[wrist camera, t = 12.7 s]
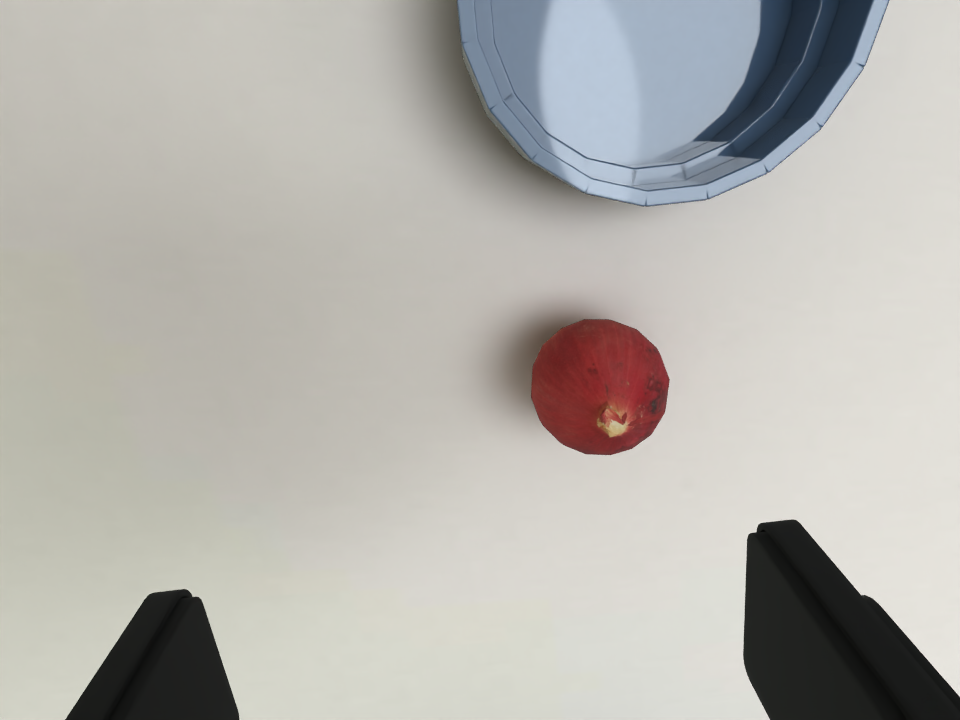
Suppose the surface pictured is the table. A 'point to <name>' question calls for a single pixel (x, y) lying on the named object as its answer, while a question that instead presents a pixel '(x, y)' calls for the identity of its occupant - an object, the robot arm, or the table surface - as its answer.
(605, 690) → the table surface
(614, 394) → the pomegranate
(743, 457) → the table surface
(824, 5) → the bowl
